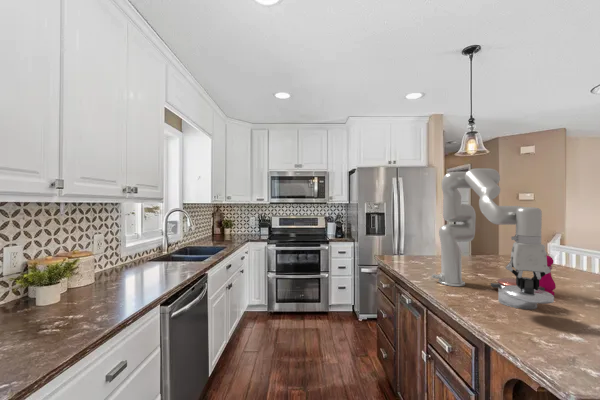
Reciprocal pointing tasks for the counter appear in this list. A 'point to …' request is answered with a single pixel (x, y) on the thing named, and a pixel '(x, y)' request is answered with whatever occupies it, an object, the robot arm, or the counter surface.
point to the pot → (508, 300)
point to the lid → (528, 293)
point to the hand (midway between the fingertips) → (527, 287)
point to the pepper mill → (548, 278)
